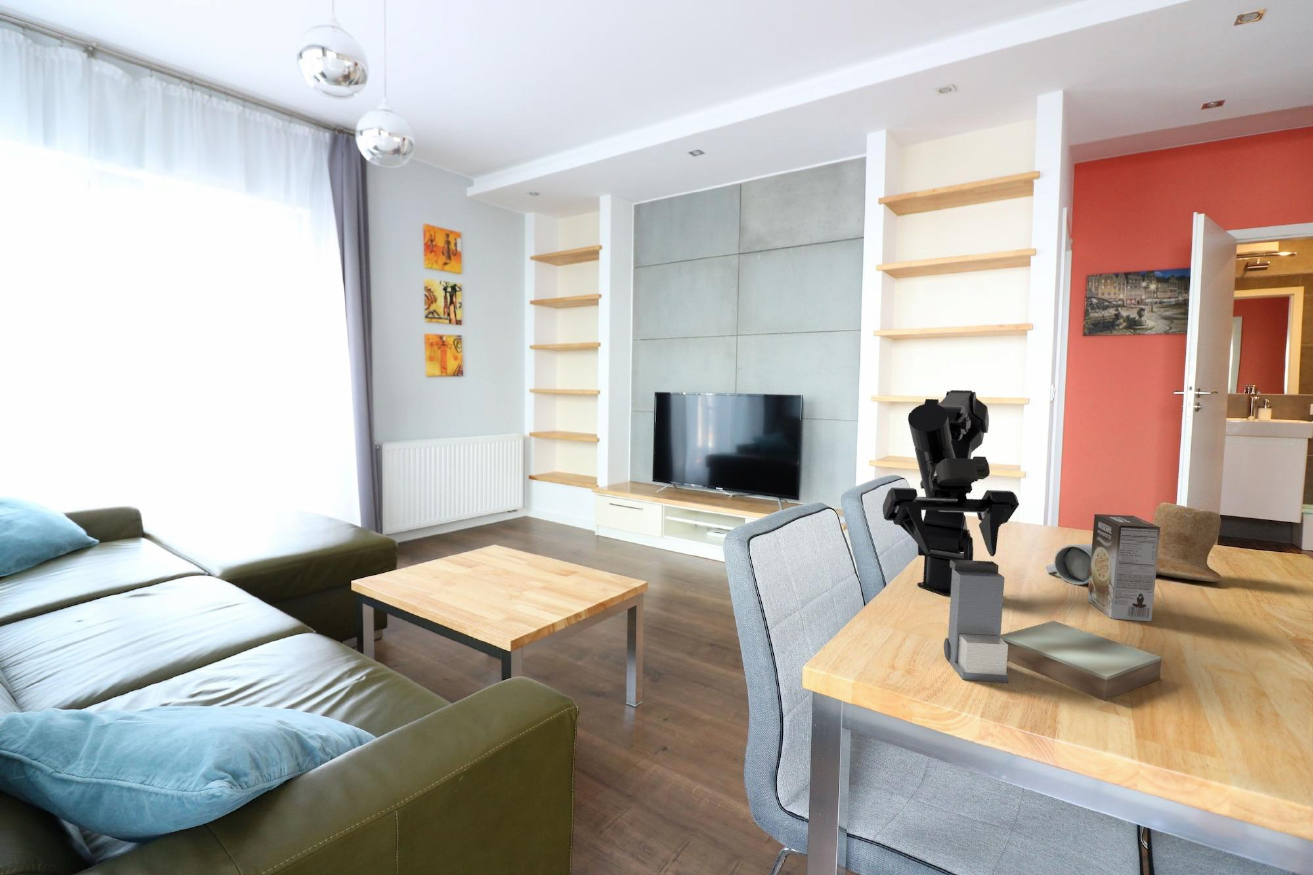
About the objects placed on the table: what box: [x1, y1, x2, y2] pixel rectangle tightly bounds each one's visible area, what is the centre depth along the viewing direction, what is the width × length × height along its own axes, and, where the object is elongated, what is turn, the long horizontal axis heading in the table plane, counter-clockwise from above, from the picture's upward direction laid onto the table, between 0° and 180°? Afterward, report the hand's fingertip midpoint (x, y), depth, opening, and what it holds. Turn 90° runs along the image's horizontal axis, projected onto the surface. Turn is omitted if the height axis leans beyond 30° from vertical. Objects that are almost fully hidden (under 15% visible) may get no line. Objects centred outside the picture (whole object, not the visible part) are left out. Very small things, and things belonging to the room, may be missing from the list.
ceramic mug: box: [1045, 543, 1092, 586], centre depth 126 cm, size 11×8×8 cm
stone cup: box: [1152, 502, 1222, 582], centre depth 130 cm, size 15×12×15 cm
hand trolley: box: [943, 559, 1009, 683], centre depth 85 cm, size 8×6×14 cm
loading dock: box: [1000, 620, 1163, 701], centre depth 86 cm, size 14×13×3 cm
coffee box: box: [1087, 513, 1161, 622], centre depth 108 cm, size 9×6×16 cm
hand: (960, 553), depth 93 cm, fingers open, 9 cm apart
